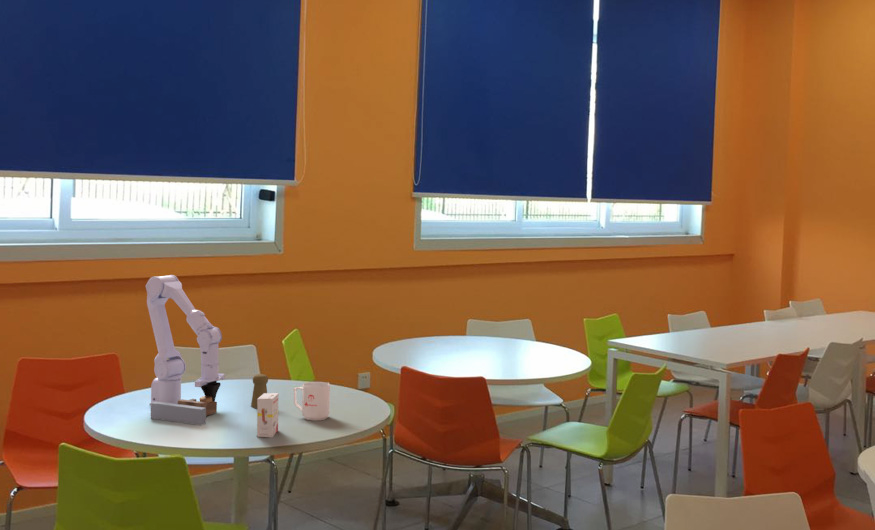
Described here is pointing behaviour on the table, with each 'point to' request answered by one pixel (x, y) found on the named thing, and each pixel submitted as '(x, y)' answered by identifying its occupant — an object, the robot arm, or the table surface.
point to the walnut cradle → (200, 405)
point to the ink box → (267, 415)
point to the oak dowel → (206, 399)
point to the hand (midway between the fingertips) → (210, 404)
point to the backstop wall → (178, 413)
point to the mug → (314, 400)
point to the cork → (258, 388)
